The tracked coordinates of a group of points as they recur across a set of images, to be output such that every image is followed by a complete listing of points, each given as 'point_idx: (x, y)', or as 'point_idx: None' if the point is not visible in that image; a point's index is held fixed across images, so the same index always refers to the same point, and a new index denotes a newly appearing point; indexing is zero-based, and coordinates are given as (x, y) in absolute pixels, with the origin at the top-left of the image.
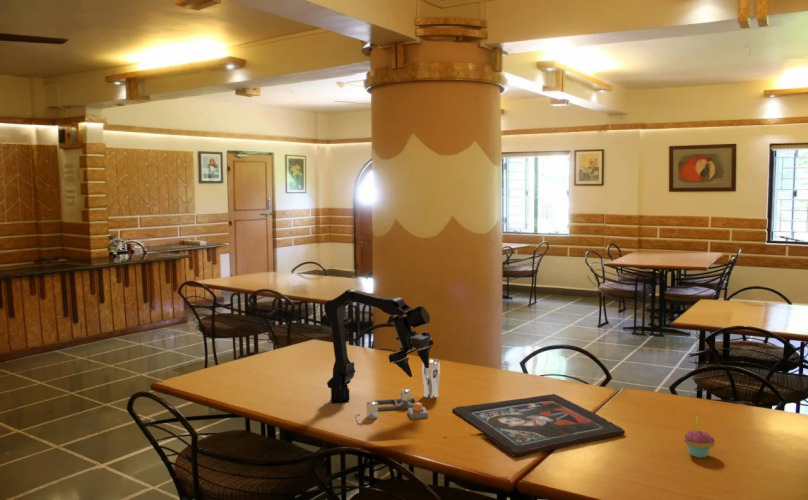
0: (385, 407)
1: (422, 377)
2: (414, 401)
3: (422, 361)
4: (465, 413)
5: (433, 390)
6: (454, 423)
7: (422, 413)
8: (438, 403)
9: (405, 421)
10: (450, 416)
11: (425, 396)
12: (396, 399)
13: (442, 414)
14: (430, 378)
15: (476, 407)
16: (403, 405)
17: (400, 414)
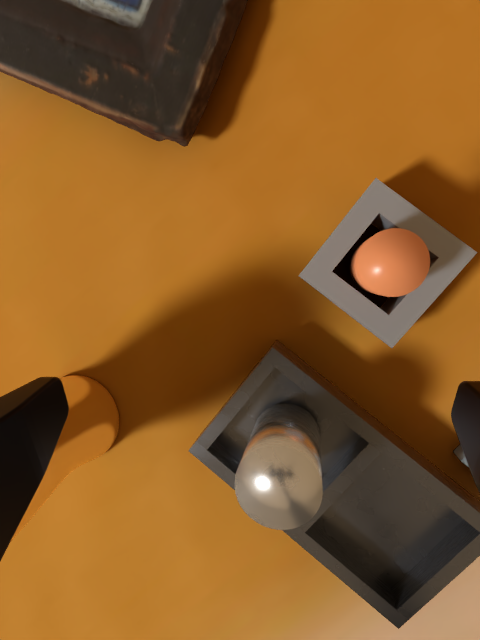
0: (454, 492)
1: (22, 528)
2: (235, 414)
3: (3, 546)
4: (197, 1)
5: None
6: (284, 52)
7: (406, 202)
8: (102, 343)
9: (457, 297)
10: (211, 153)
11: (104, 435)
12: None
13: (216, 210)
14: None
15: (65, 41)
16: (347, 419)
17: (380, 397)
